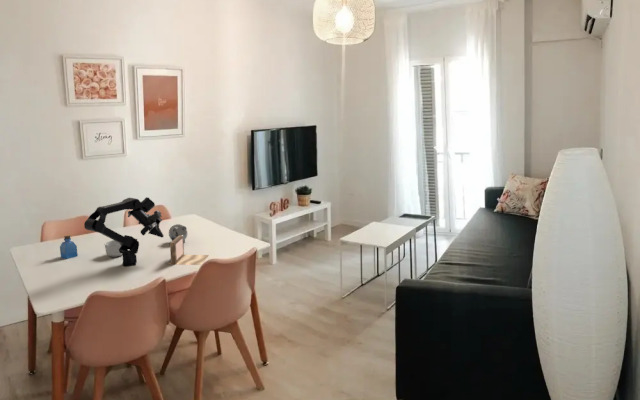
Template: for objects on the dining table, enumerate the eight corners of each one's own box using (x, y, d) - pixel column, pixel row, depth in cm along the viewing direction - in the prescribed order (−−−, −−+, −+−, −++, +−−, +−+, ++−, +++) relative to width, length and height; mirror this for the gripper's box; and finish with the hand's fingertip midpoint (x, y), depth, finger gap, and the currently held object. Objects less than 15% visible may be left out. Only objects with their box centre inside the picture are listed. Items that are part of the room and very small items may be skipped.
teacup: (121, 258, 274) (120, 244, 272) (102, 258, 274) (100, 244, 272) (131, 251, 287) (130, 237, 286) (112, 250, 287) (111, 237, 286)
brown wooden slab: (171, 264, 262) (169, 242, 260) (180, 255, 277) (178, 235, 275) (175, 264, 262) (174, 243, 260) (184, 255, 277) (183, 235, 275)
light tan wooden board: (168, 265, 263) (167, 264, 263) (178, 255, 279) (178, 254, 279) (201, 265, 262) (200, 264, 262) (209, 255, 279) (209, 255, 279)
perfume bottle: (77, 256, 277) (75, 235, 275) (67, 259, 272) (64, 238, 270) (71, 254, 280) (69, 234, 278) (60, 257, 275) (58, 236, 273)
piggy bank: (172, 247, 295) (171, 228, 293) (166, 241, 308) (165, 223, 306) (190, 244, 301) (190, 226, 298) (184, 238, 313) (183, 221, 311)
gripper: (144, 210, 255) (166, 231, 257) (157, 203, 273) (178, 222, 275) (131, 225, 257) (153, 245, 259) (144, 217, 275) (165, 236, 277)
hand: (163, 236), depth 267 cm, fingers closed
